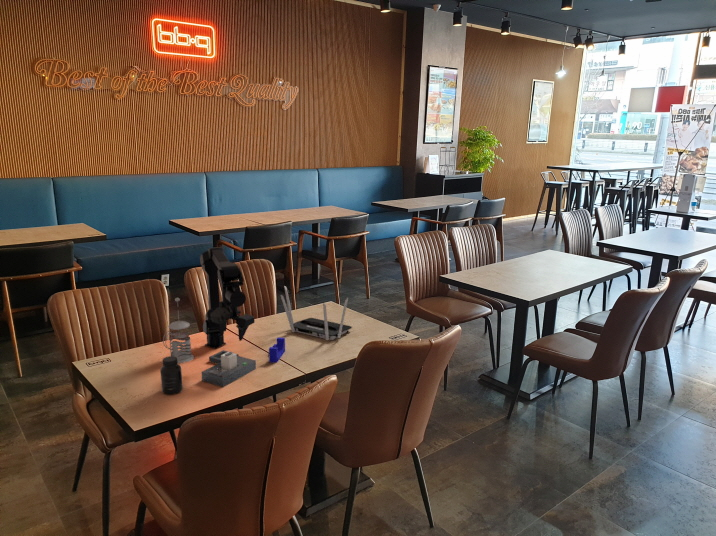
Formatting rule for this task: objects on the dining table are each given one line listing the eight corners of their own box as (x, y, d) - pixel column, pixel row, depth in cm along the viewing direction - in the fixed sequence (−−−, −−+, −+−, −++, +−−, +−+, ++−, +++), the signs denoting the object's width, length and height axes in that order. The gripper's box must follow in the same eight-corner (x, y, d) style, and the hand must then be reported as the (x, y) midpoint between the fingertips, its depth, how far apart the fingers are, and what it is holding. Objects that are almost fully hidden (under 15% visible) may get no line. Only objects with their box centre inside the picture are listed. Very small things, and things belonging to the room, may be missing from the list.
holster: (209, 361, 217) (208, 356, 216) (223, 354, 224) (223, 350, 223) (224, 366, 213) (224, 361, 213) (238, 358, 220) (238, 354, 219)
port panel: (202, 380, 200) (201, 370, 199) (235, 363, 215) (235, 354, 215) (222, 387, 195) (222, 377, 195) (255, 369, 211) (255, 359, 210)
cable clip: (274, 350, 229) (274, 337, 228) (285, 351, 228) (284, 337, 227) (265, 362, 217) (265, 348, 216) (276, 363, 217) (276, 348, 215)
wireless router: (362, 333, 250) (363, 290, 245) (334, 349, 231) (335, 303, 226) (302, 319, 266) (301, 279, 262) (271, 334, 247) (270, 291, 242)
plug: (221, 375, 205) (220, 353, 203) (229, 371, 208) (228, 350, 206) (230, 378, 203) (229, 356, 201) (237, 374, 206) (236, 352, 204)
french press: (199, 358, 220) (195, 297, 214) (172, 366, 212) (167, 304, 206) (185, 351, 226) (182, 292, 220) (159, 359, 218) (154, 298, 212)
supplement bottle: (164, 386, 195) (162, 354, 192) (184, 386, 196) (182, 354, 193) (159, 395, 189) (157, 362, 186) (180, 395, 189) (178, 362, 186)
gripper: (195, 299, 203) (197, 339, 207) (234, 309, 194) (235, 350, 198) (217, 292, 212) (218, 330, 216) (255, 301, 203) (255, 340, 207)
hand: (231, 337), depth 209 cm, fingers open, 9 cm apart
